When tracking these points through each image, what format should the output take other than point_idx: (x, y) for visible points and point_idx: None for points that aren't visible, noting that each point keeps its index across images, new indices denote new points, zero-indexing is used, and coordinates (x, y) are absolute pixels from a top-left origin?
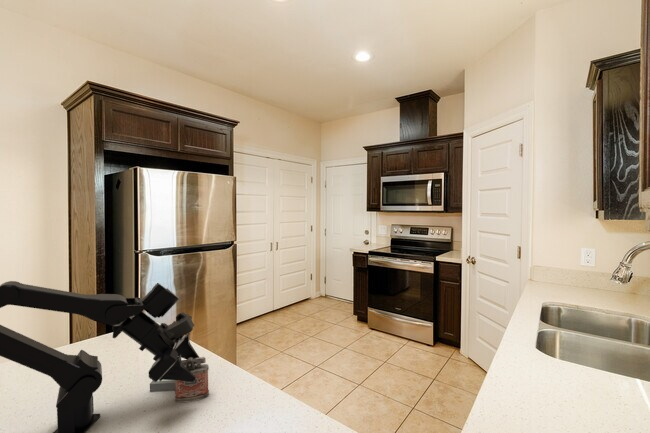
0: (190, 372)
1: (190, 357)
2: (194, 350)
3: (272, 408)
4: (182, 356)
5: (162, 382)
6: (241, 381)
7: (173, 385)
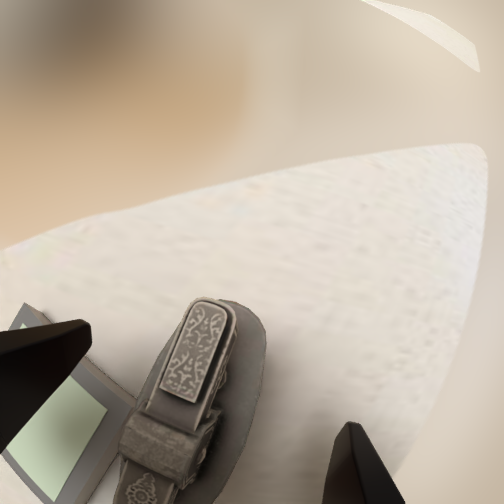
0: (367, 466)
1: (125, 433)
2: (11, 334)
3: (426, 190)
4: (17, 426)
5: (73, 489)
6: (232, 209)
7: (104, 459)
